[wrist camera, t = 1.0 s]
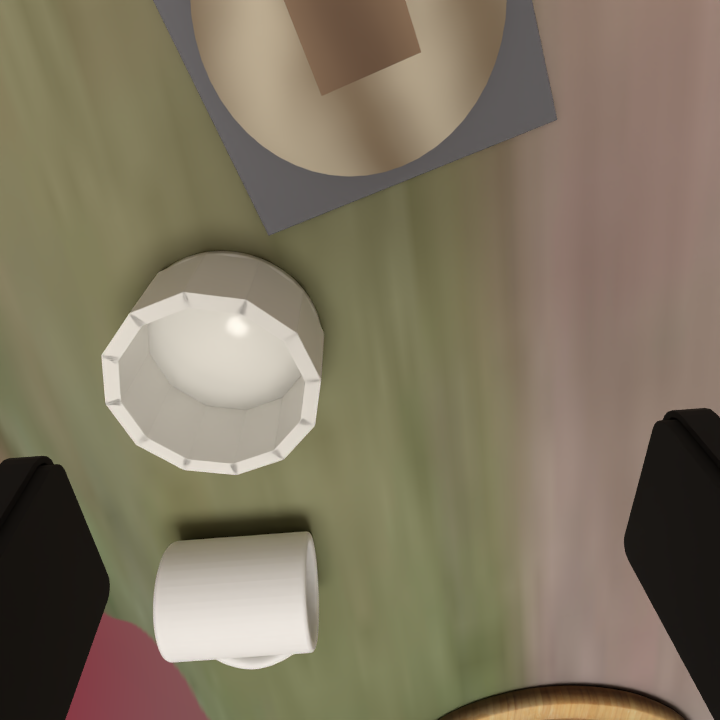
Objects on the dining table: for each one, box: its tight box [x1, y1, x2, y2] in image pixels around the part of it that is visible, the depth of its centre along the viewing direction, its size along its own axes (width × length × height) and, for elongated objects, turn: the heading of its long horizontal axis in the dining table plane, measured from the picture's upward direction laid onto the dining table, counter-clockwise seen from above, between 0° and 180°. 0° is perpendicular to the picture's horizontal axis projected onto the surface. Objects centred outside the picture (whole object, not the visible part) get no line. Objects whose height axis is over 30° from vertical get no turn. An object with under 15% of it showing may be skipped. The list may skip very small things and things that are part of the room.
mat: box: [153, 0, 557, 235], centre depth 28 cm, size 16×16×1 cm
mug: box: [153, 531, 319, 669], centre depth 43 cm, size 12×10×8 cm
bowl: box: [102, 251, 324, 475], centre depth 34 cm, size 11×11×6 cm
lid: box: [190, 0, 507, 177], centre depth 24 cm, size 14×14×7 cm
